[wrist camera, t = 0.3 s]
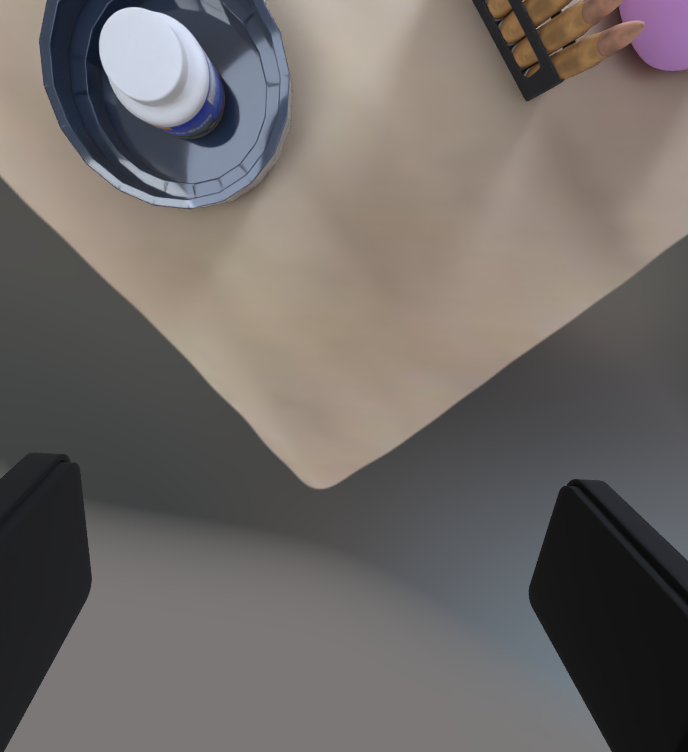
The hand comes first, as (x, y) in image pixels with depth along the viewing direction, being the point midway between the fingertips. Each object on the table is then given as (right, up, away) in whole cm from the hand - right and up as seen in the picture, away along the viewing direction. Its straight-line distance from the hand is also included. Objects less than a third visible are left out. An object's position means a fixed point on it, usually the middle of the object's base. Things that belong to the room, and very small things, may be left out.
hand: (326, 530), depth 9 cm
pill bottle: (-10, +22, +23) cm, 34 cm away
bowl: (-10, +22, +23) cm, 34 cm away
